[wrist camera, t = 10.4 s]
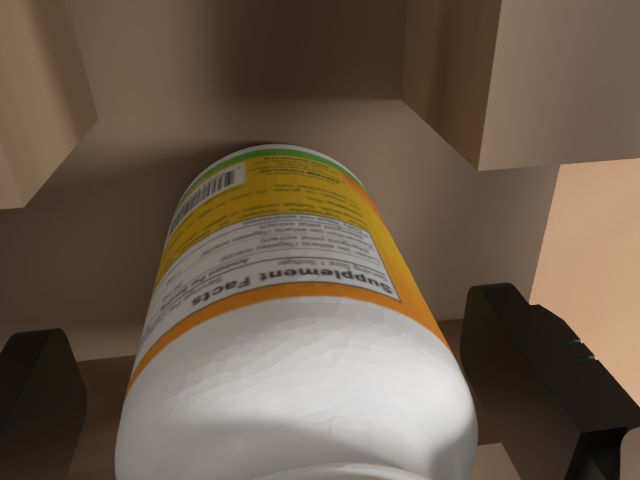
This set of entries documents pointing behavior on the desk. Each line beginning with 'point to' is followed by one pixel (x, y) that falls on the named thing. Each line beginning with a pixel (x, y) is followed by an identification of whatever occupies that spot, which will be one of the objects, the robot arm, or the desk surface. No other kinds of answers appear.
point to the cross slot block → (292, 129)
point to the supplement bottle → (290, 339)
